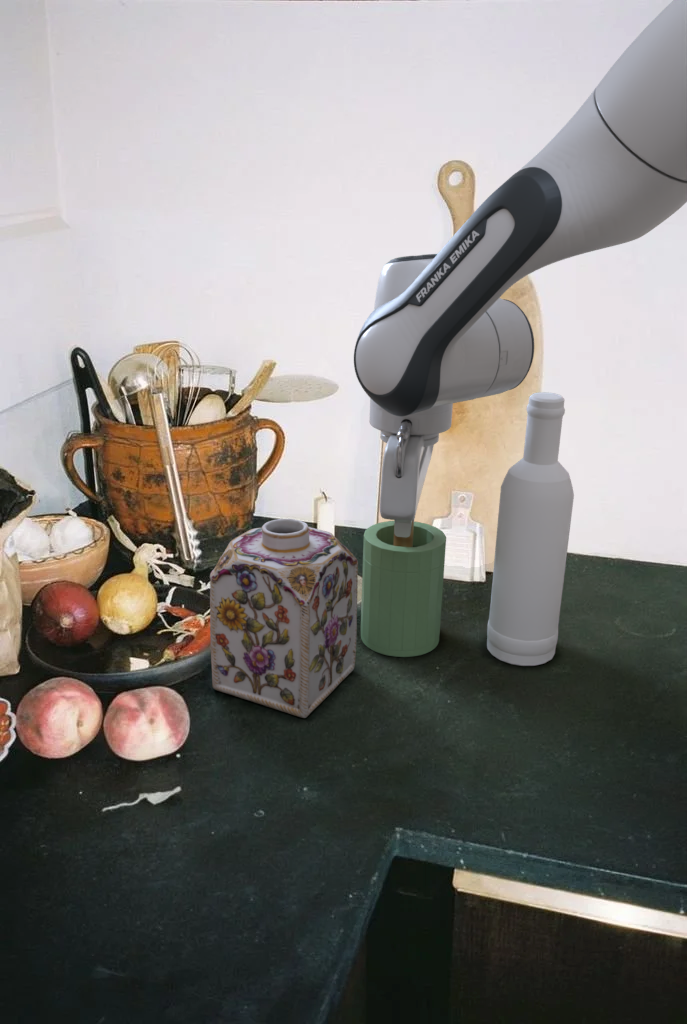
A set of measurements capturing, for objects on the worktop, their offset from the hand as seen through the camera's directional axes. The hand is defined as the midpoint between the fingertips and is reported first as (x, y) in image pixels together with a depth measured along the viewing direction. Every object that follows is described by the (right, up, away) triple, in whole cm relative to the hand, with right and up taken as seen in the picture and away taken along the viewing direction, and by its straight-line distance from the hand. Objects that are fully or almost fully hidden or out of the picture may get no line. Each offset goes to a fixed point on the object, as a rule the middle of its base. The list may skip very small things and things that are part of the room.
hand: (404, 528), depth 105 cm
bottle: (+14, -14, +3) cm, 20 cm away
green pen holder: (0, -13, +5) cm, 14 cm away
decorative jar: (-13, -16, -4) cm, 21 cm away
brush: (0, -12, +5) cm, 13 cm away
